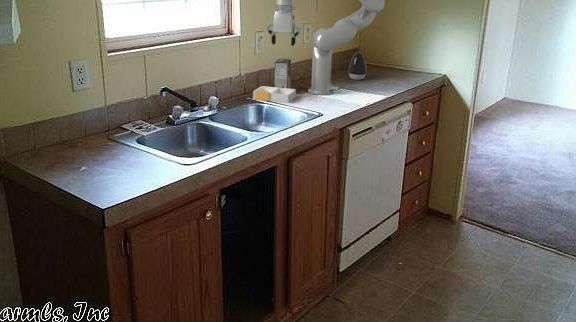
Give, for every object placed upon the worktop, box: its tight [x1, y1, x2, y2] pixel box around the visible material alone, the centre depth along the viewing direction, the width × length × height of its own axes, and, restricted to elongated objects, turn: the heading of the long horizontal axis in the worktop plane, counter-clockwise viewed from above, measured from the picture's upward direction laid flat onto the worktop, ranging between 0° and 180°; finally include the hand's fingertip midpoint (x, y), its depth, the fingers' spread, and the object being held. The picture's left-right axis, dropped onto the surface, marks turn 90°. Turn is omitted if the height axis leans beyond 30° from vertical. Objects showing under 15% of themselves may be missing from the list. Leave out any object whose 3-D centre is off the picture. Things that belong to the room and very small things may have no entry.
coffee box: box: [274, 58, 292, 89], centre depth 269 cm, size 9×6×16 cm
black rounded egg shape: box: [347, 51, 367, 81], centre depth 303 cm, size 10×10×15 cm
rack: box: [252, 85, 297, 104], centre depth 259 cm, size 18×13×4 cm
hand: (283, 44), depth 264 cm, fingers open, 9 cm apart
